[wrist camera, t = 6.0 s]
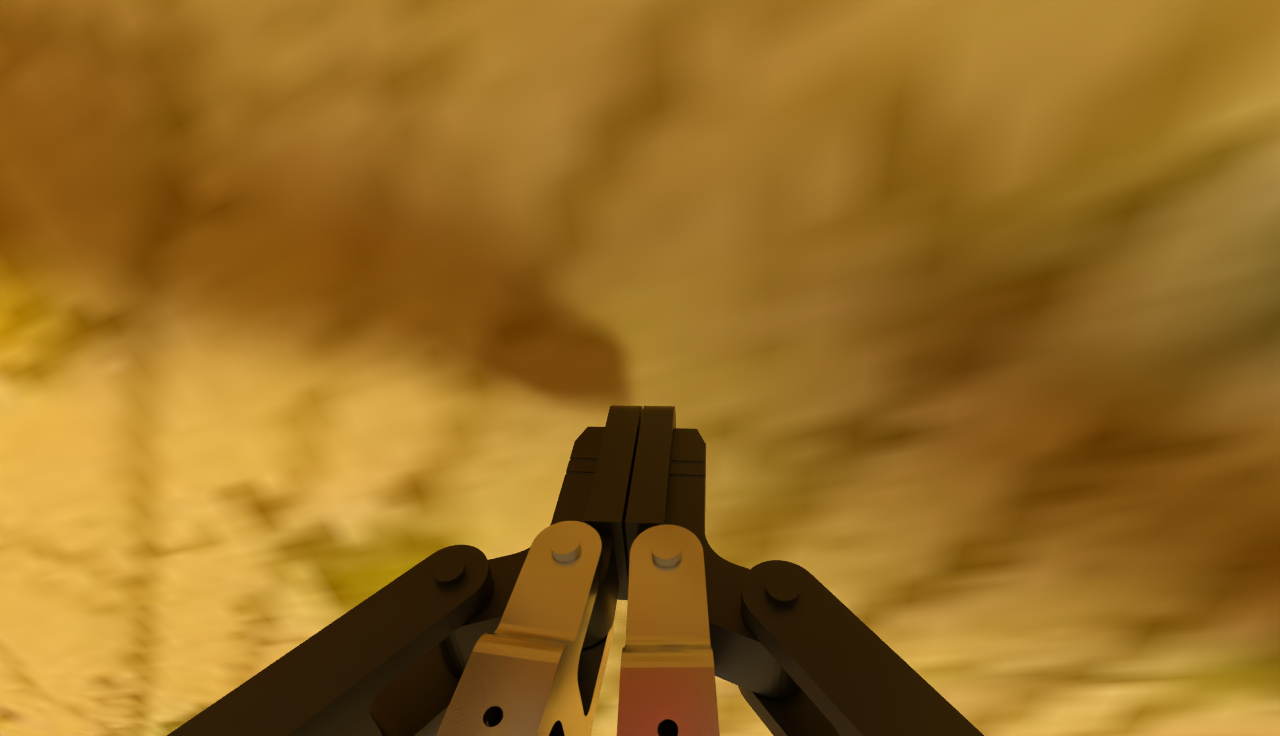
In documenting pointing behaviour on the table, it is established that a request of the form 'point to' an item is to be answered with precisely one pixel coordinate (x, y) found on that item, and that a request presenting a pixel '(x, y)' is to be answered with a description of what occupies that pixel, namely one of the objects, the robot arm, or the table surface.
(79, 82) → the table surface
